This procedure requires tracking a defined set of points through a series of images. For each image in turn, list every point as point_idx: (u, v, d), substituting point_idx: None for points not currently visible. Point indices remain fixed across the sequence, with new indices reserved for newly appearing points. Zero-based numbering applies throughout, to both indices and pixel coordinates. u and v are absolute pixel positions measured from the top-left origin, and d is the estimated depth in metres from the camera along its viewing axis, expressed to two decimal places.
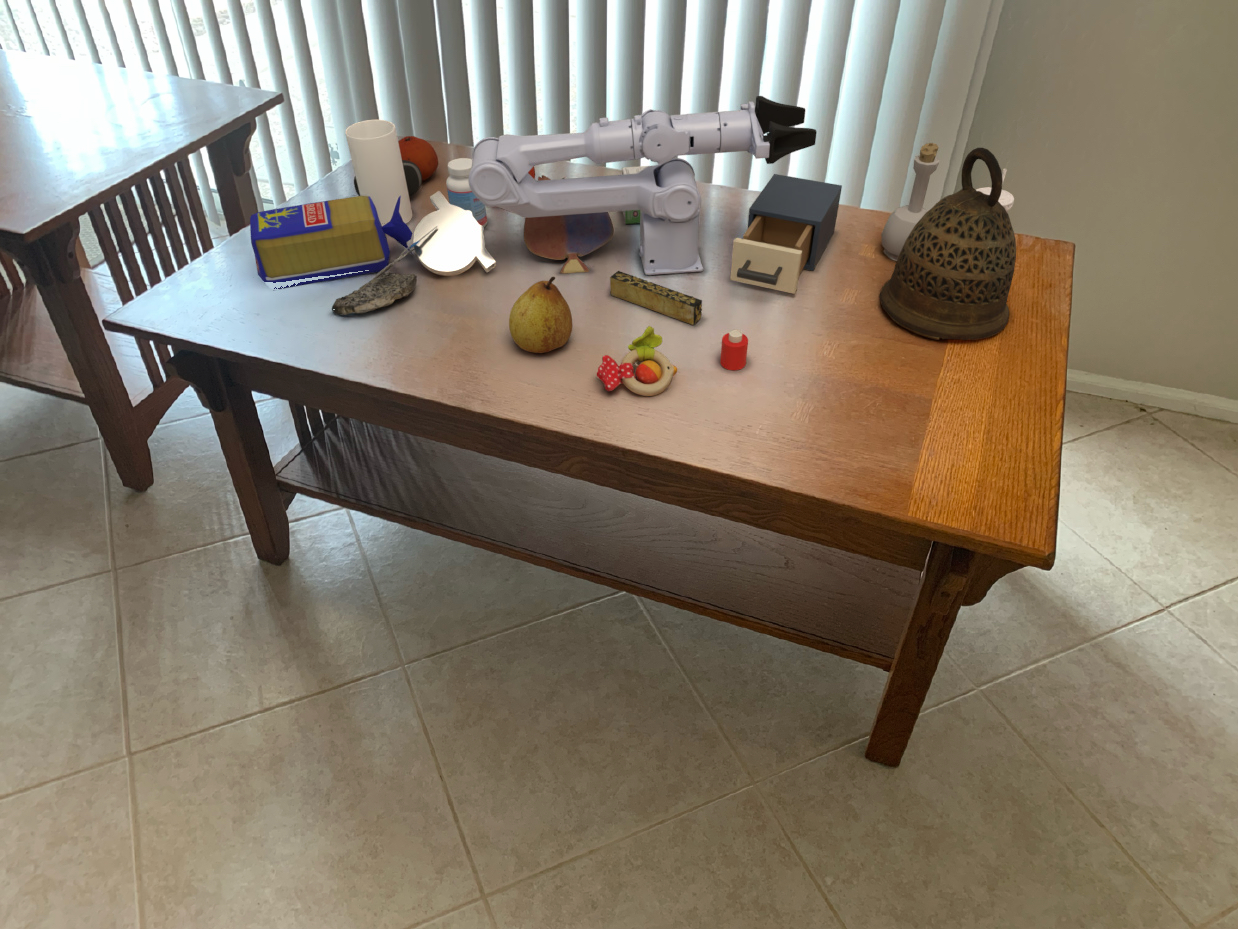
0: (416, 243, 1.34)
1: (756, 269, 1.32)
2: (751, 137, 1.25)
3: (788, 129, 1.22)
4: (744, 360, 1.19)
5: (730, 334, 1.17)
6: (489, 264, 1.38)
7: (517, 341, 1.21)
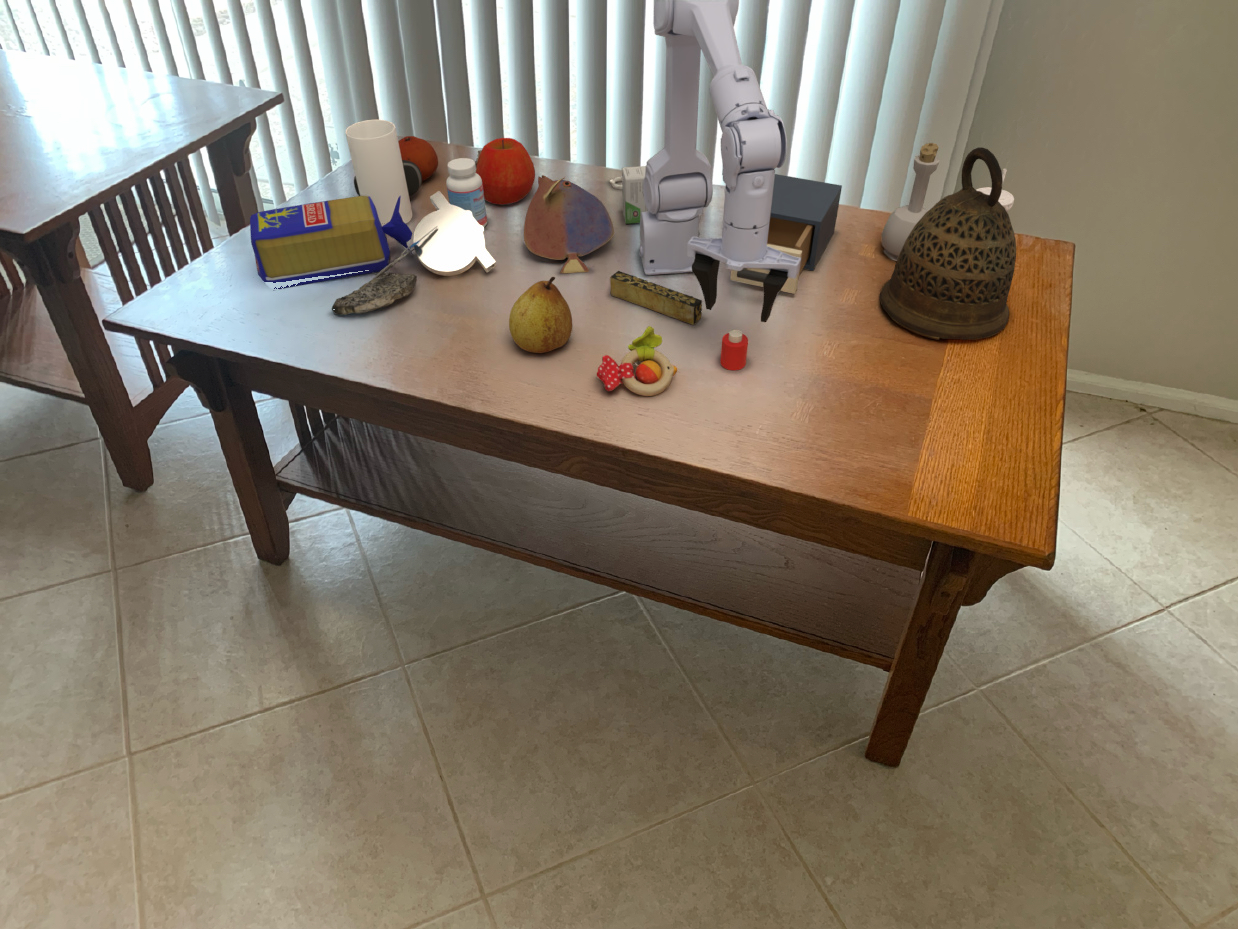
0: (416, 243, 1.34)
1: (756, 269, 1.32)
2: (720, 246, 1.10)
3: (701, 283, 1.12)
4: (744, 360, 1.19)
5: (730, 334, 1.17)
6: (489, 264, 1.38)
7: (517, 341, 1.21)
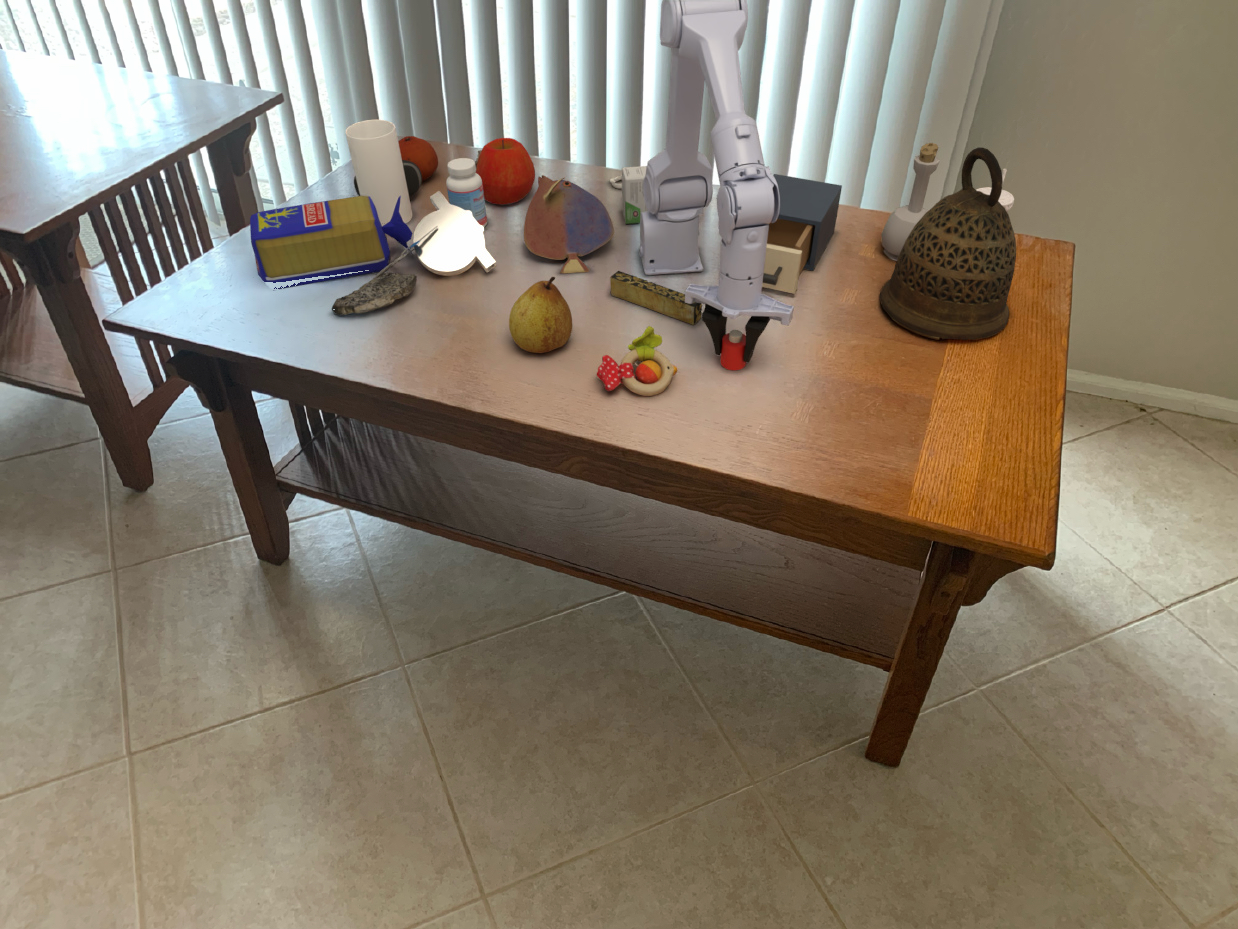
0: (416, 243, 1.34)
1: None
2: (716, 294, 1.14)
3: (711, 331, 1.17)
4: None
5: (730, 334, 1.17)
6: (489, 264, 1.38)
7: (517, 341, 1.21)
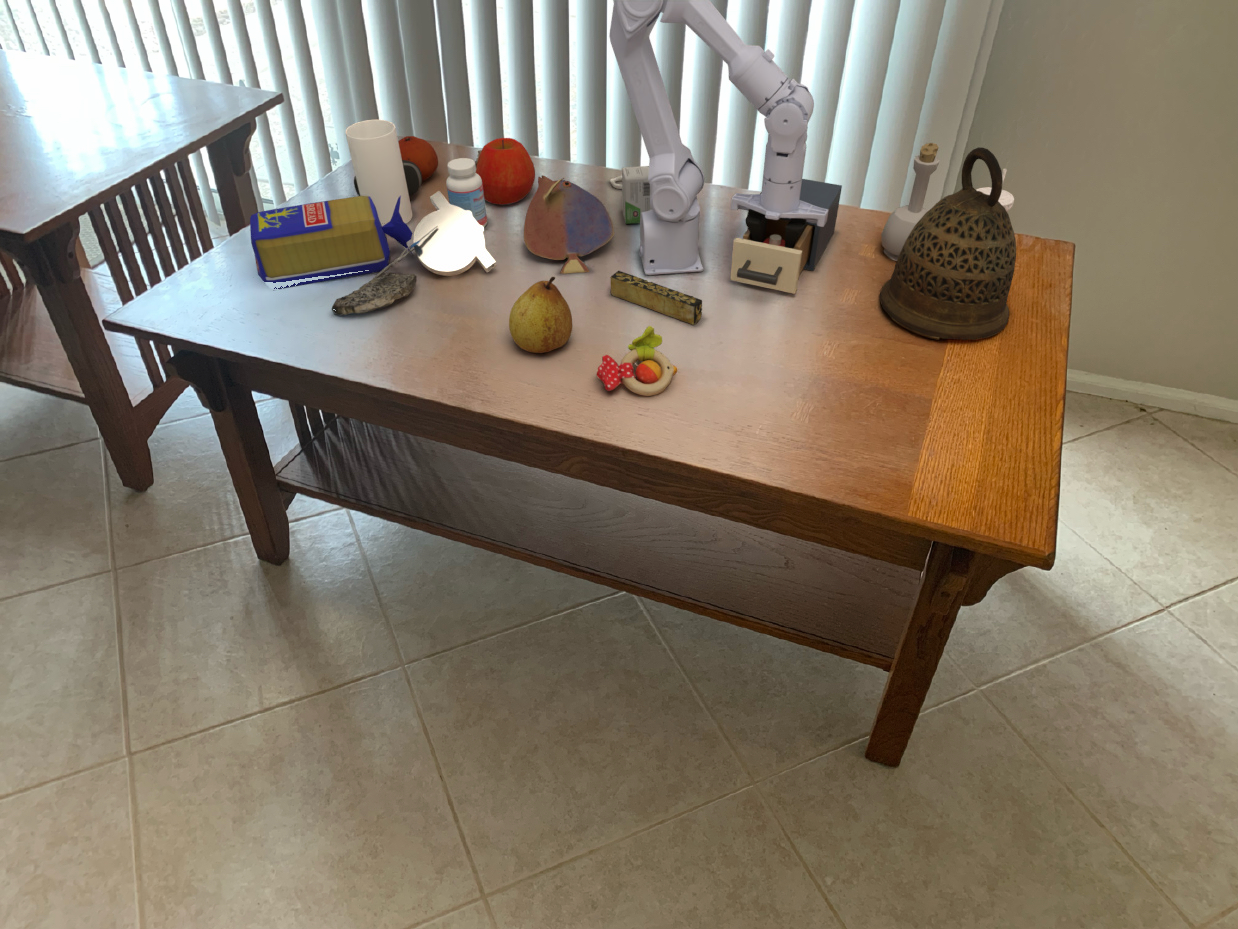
0: (416, 243, 1.34)
1: (756, 269, 1.32)
2: (759, 200, 1.30)
3: (753, 235, 1.32)
4: None
5: (771, 238, 1.32)
6: (489, 264, 1.38)
7: (517, 341, 1.21)
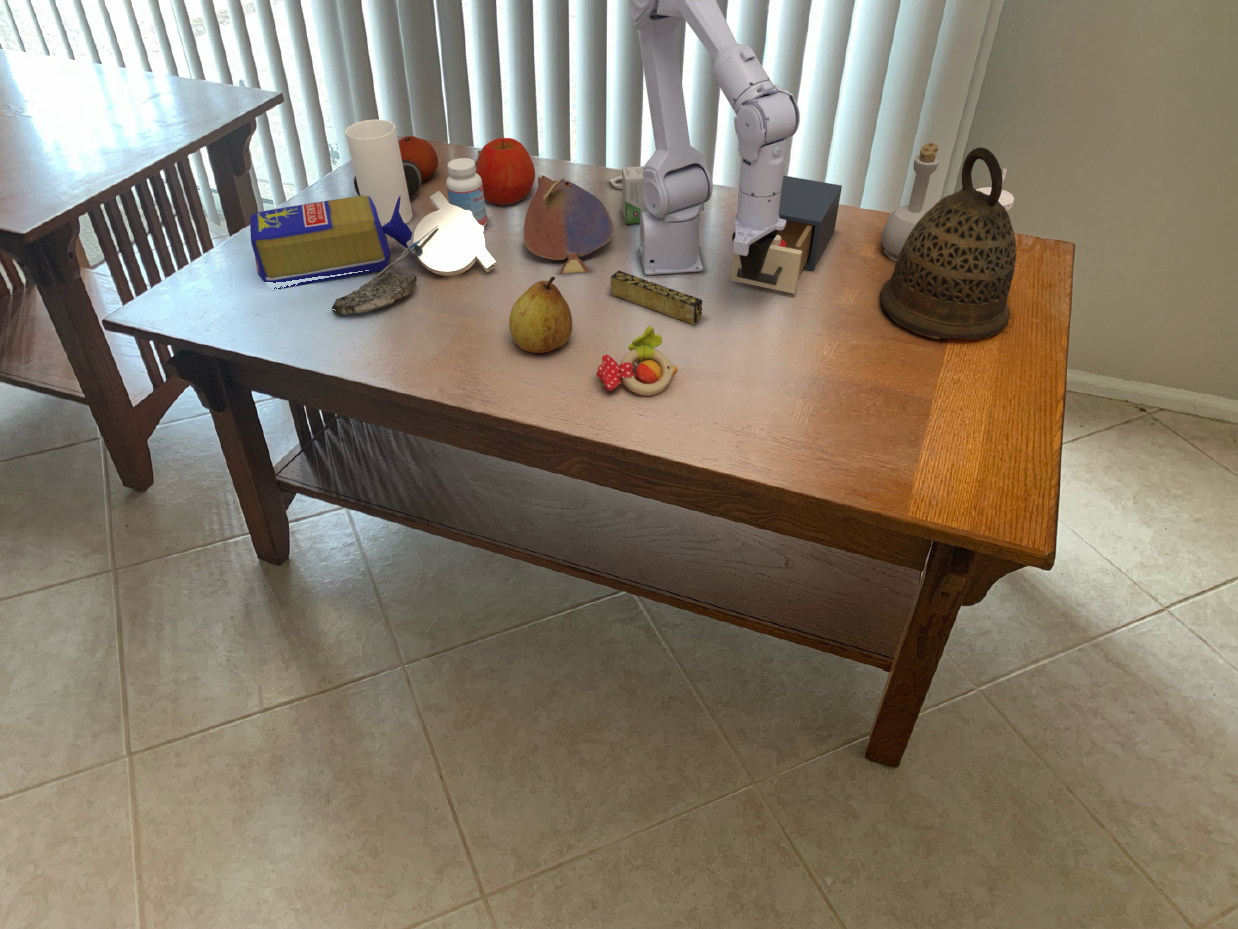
0: (417, 243, 1.34)
1: None
2: (752, 228, 1.17)
3: (763, 256, 1.21)
4: None
5: None
6: (489, 264, 1.38)
7: (517, 341, 1.21)
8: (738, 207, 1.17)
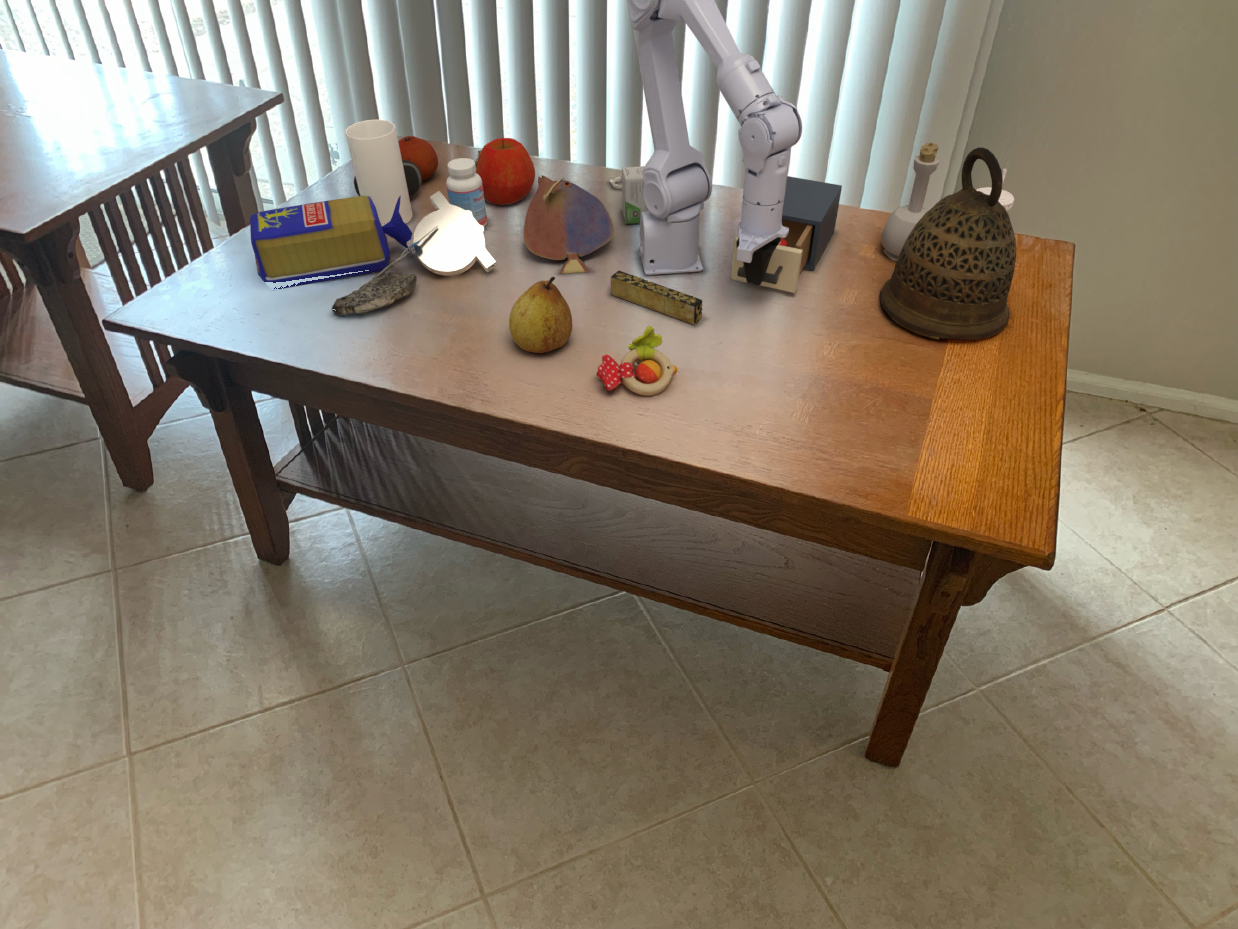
0: (417, 243, 1.34)
1: None
2: (755, 235, 1.20)
3: (766, 262, 1.24)
4: None
5: None
6: (489, 264, 1.38)
7: (517, 341, 1.21)
8: (742, 215, 1.20)
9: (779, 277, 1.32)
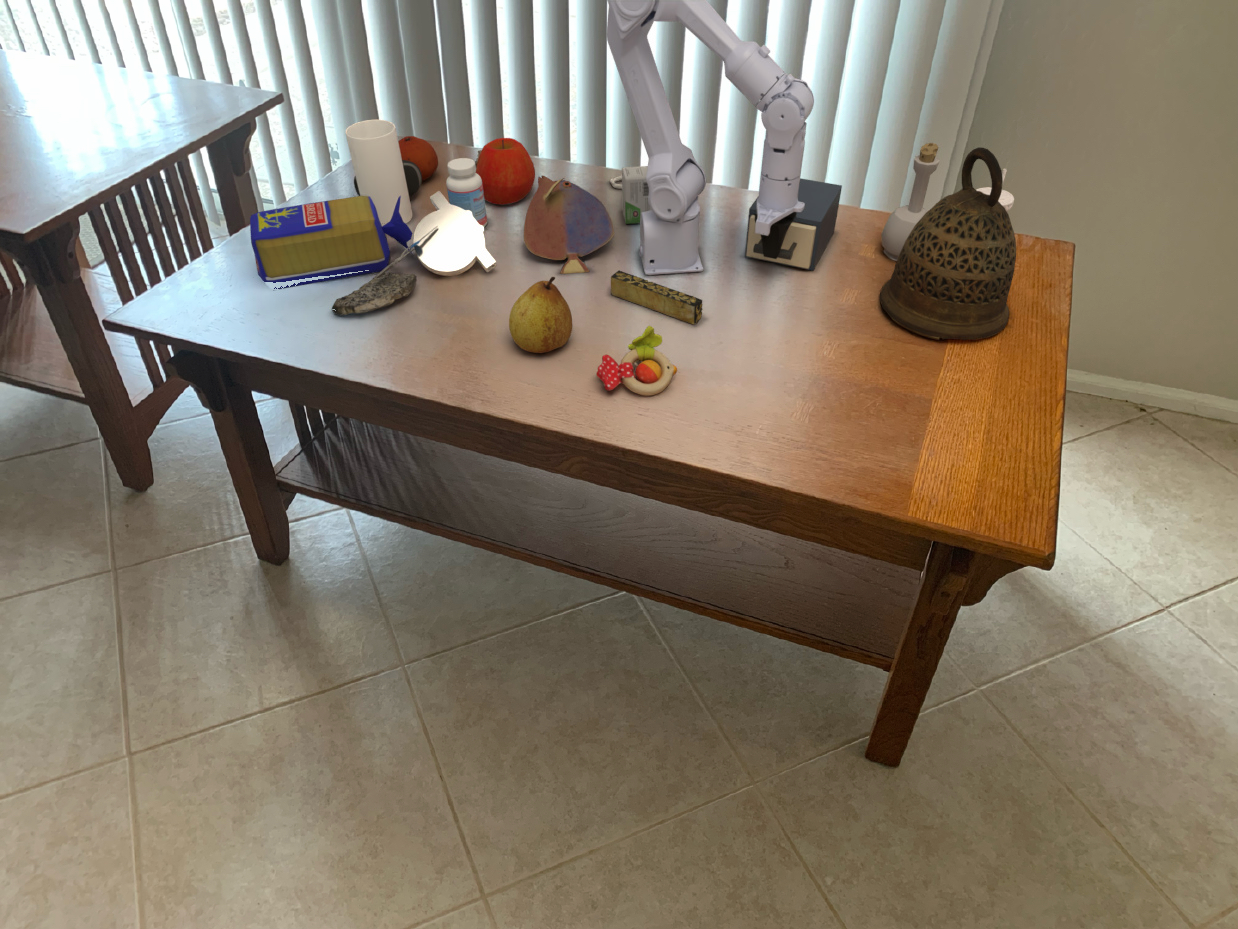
0: (417, 243, 1.34)
1: None
2: (773, 210, 1.25)
3: (783, 236, 1.29)
4: None
5: None
6: (489, 264, 1.38)
7: (517, 341, 1.21)
8: (760, 190, 1.26)
9: (793, 253, 1.37)
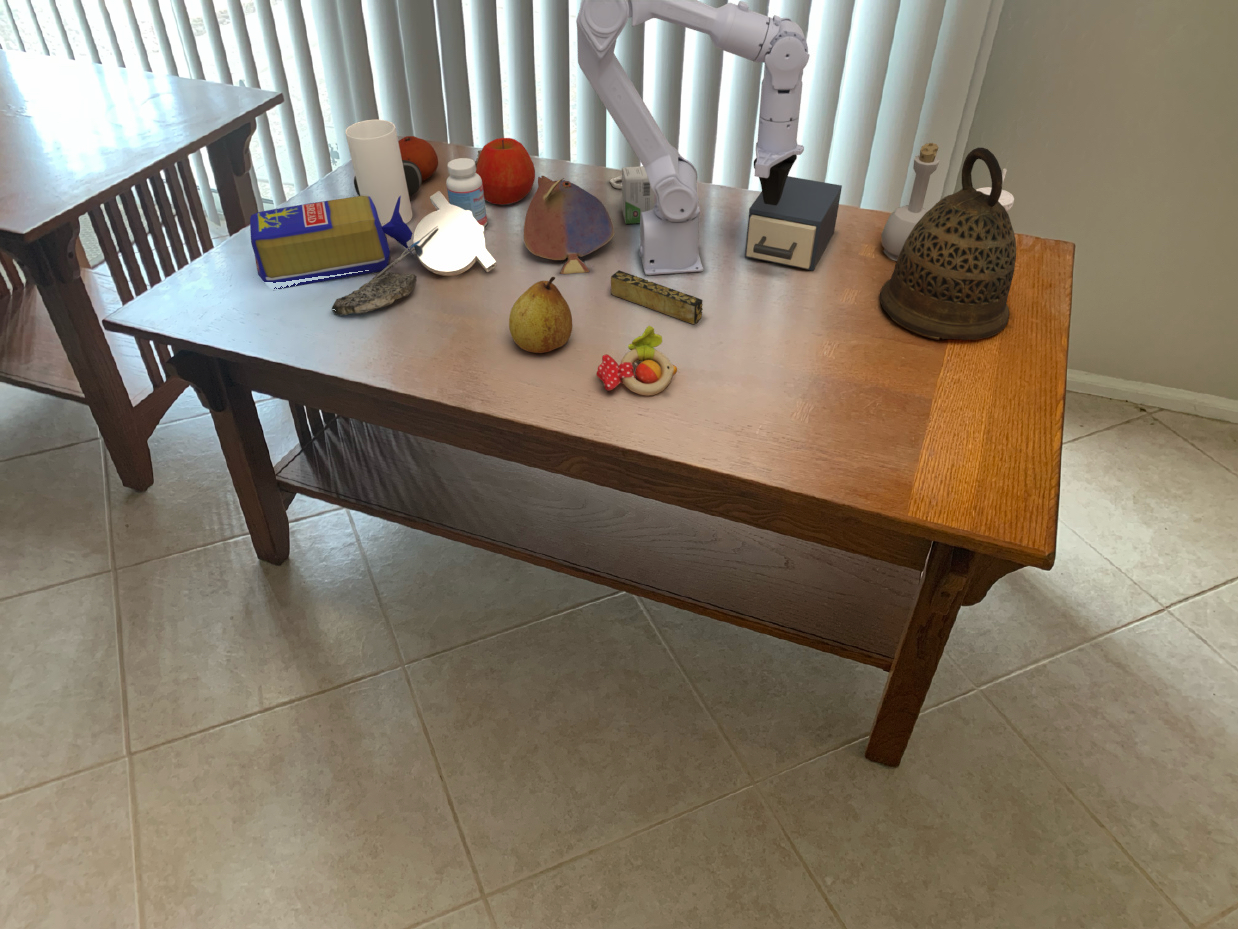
0: (417, 243, 1.34)
1: (771, 245, 1.37)
2: (772, 153, 1.25)
3: (783, 181, 1.29)
4: None
5: None
6: (489, 264, 1.38)
7: (517, 341, 1.21)
8: (759, 134, 1.26)
9: (793, 253, 1.37)
